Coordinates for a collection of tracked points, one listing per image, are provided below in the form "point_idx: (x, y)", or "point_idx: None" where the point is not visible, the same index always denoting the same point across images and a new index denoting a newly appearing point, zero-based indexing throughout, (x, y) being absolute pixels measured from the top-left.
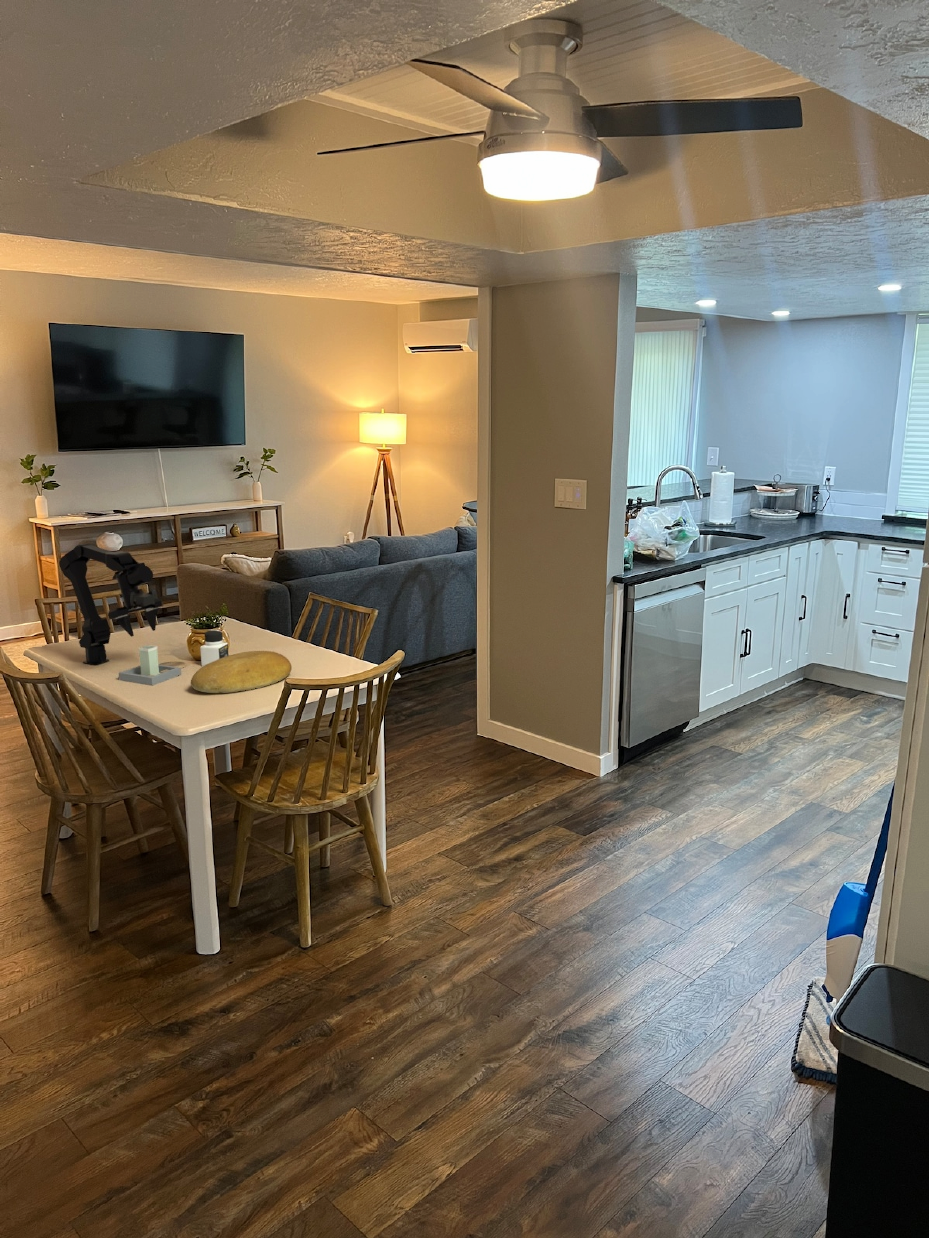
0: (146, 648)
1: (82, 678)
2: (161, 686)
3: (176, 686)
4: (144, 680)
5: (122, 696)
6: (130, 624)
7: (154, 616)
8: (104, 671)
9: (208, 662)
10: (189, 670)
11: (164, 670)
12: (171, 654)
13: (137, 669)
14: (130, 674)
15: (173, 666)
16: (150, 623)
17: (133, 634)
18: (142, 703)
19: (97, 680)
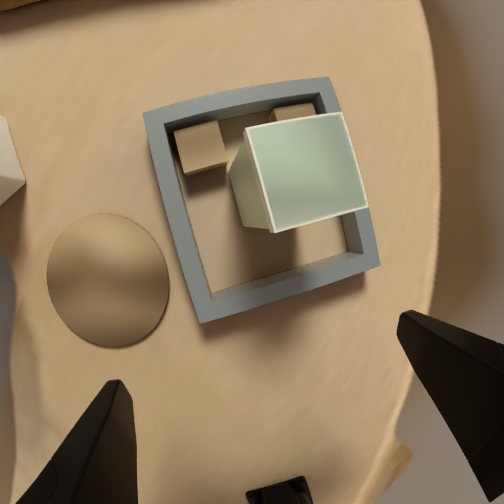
0: (337, 143)
1: (412, 370)
2: (299, 55)
3: (261, 19)
4: None
5: (427, 86)
6: (497, 363)
7: (47, 502)
8: (329, 407)
9: (8, 151)
10: (86, 159)
11: (201, 163)
12: (46, 421)
13: (284, 277)
14: None
15: (103, 257)
16: (125, 472)
17: (408, 317)
18: (404, 6)
19: None
